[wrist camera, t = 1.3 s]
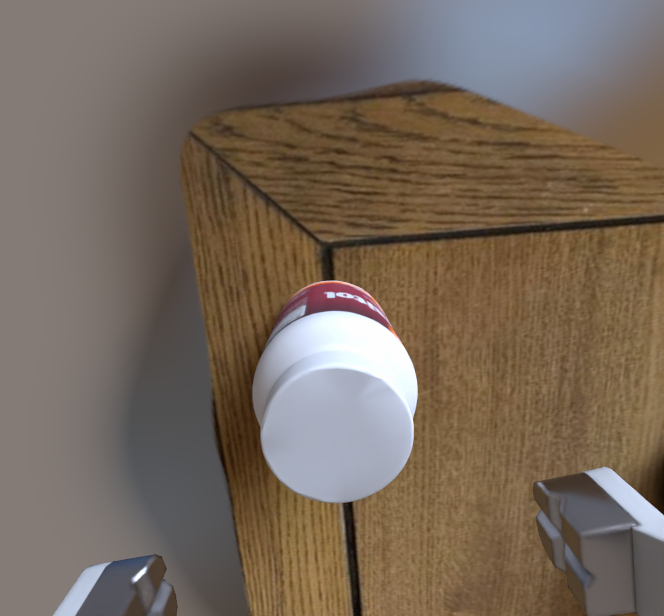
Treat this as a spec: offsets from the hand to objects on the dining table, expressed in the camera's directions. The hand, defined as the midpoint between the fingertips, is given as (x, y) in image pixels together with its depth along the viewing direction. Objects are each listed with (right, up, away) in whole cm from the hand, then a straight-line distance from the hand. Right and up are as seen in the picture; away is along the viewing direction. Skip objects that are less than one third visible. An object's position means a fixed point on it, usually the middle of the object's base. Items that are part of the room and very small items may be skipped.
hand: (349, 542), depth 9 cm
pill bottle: (0, +4, +14) cm, 15 cm away
